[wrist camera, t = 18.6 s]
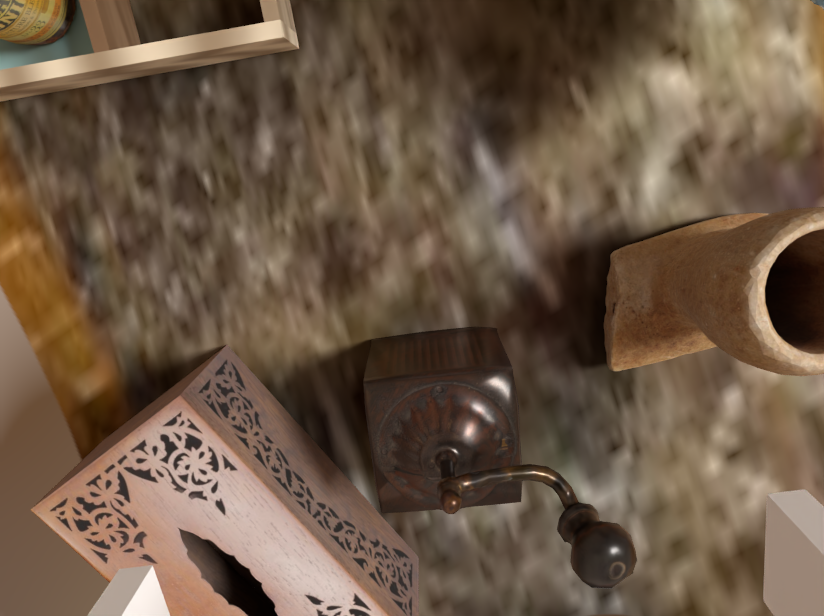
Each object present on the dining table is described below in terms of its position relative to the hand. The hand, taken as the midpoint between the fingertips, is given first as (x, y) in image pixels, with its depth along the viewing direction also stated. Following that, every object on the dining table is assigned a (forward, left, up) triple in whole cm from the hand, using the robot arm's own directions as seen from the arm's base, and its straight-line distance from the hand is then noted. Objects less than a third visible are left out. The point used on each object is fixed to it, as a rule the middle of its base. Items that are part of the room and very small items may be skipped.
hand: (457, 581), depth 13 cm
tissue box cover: (+26, -1, -35) cm, 43 cm away
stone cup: (-10, +18, -34) cm, 40 cm away
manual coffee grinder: (+7, +9, -34) cm, 36 cm away
